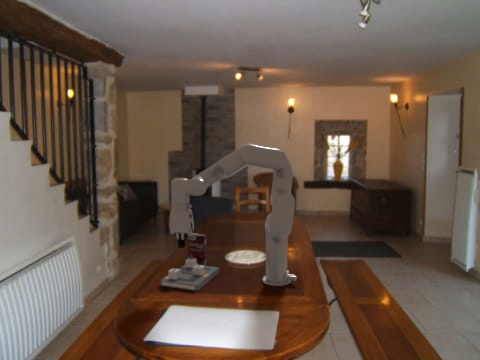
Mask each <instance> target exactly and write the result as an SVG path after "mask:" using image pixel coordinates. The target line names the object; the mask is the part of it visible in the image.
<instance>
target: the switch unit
mask: <svg viewBox="0 0 480 360" xmlns="http://www.w3.org/2000/svg"><path fill="white" fill-rule="evenodd" d="M177 269H181V277H180V278H178V279H177V280H174V279H169V278H168V275H165V277H163V278H162V279H160V281H159V283H160V284H159V285H160V287H167V288H173V289H180V290H187V291H193V292H194V291H195V292H199V290H200V289H202V288H203V287H204V286H205V285H206V284H207V283H208V282H210V281H211V280H212V279H214V278H215V277H216V276H217V275H218V274H219V273H220V266H219V267H217V266H211V265H210V266H208V265H205V273H204V274H203V275H201V276H198V275H193V268H187V267H185V264H183V265H182V266H180V267H178V268H177Z"/></svg>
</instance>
